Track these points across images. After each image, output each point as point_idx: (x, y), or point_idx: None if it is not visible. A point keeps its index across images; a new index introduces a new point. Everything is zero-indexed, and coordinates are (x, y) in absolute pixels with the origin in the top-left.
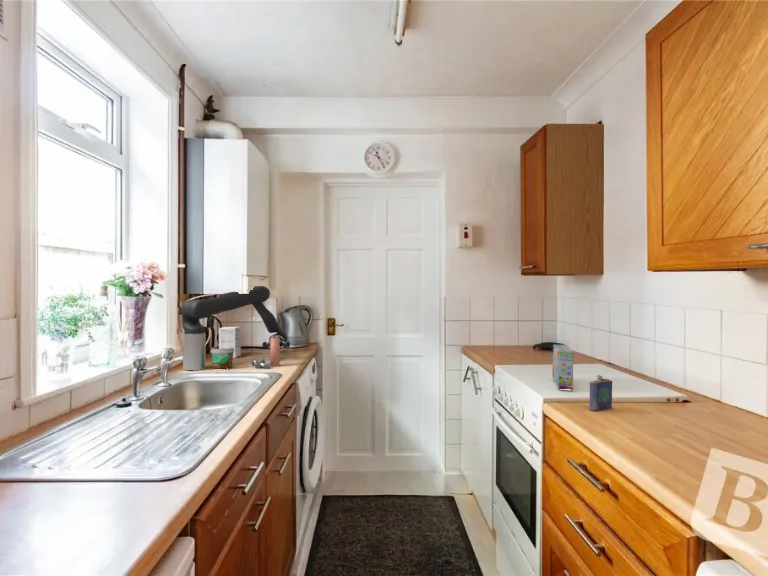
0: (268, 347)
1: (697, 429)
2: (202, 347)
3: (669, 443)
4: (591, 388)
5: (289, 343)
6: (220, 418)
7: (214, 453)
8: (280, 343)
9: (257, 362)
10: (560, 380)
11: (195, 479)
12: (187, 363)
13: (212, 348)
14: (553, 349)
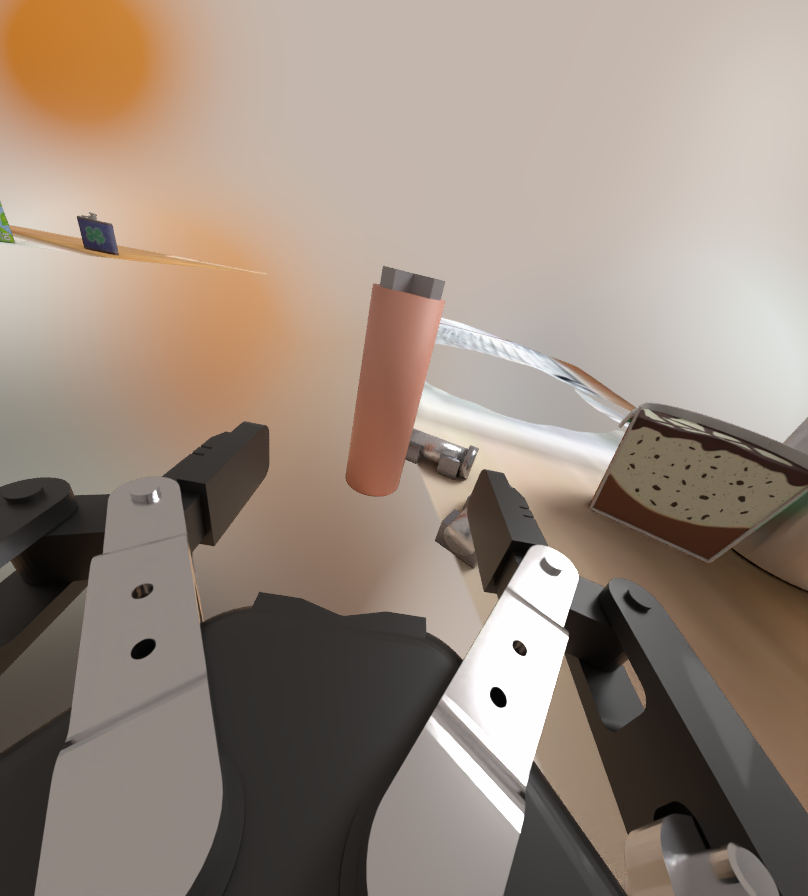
0: (482, 579)
1: (120, 248)
2: (800, 433)
3: (175, 259)
4: (113, 230)
5: (36, 500)
6: (439, 337)
7: None
8: (218, 617)
9: (469, 447)
10: (8, 225)
11: None
12: None
13: (805, 463)
14: None
